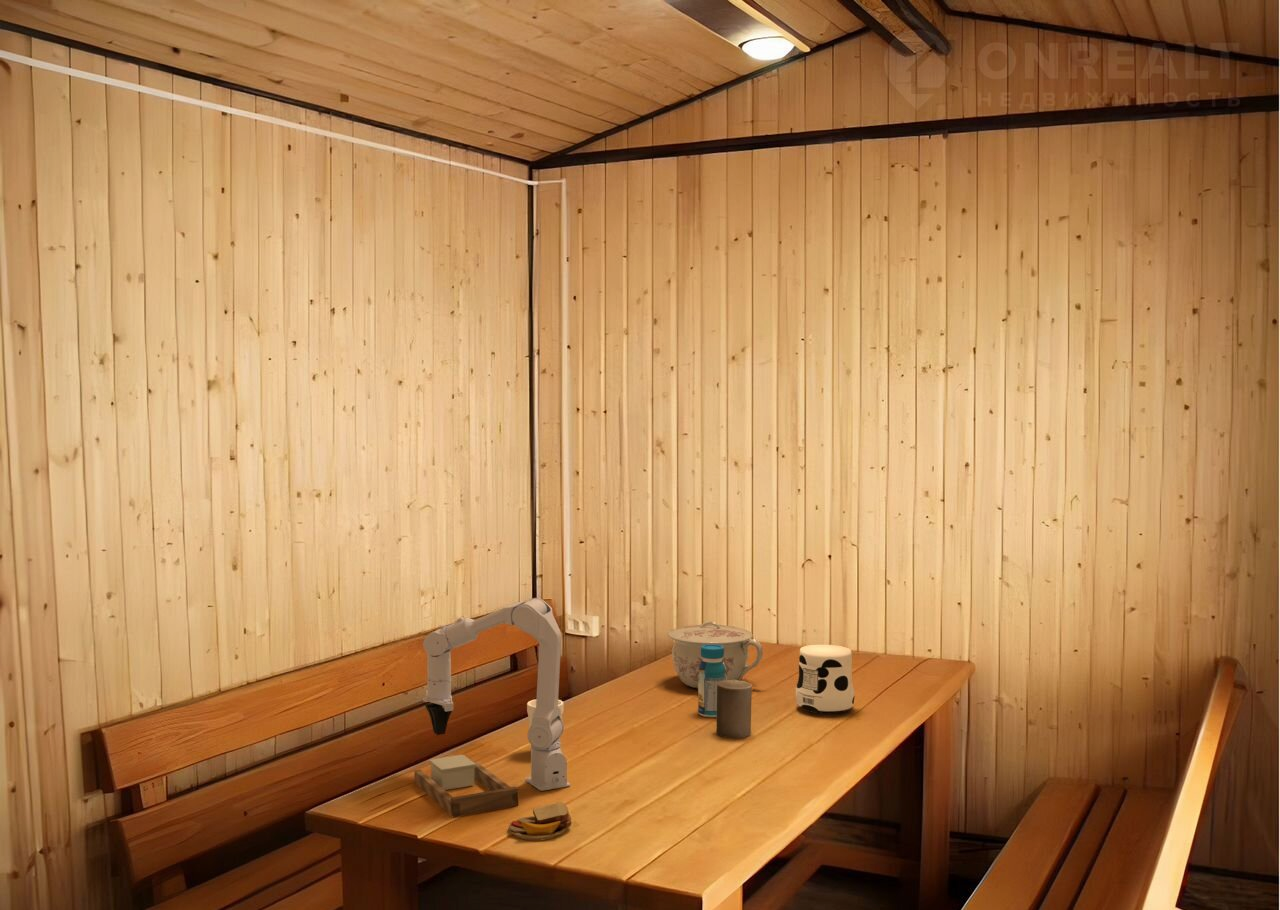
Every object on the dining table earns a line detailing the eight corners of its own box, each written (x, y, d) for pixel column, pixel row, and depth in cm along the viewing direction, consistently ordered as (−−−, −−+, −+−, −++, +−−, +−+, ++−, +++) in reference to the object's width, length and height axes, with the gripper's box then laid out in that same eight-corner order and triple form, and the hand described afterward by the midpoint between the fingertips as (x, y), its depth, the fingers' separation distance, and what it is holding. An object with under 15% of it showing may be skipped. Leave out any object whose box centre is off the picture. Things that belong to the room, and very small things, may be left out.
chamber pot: (652, 680, 387) (653, 617, 386) (726, 671, 399) (726, 610, 398) (692, 700, 362) (692, 633, 361) (769, 691, 374) (770, 625, 372)
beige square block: (476, 785, 283) (475, 764, 282) (441, 791, 278) (441, 769, 278) (463, 775, 290) (462, 754, 290) (429, 780, 286) (429, 759, 286)
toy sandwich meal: (507, 822, 260) (507, 801, 259) (569, 819, 261) (569, 798, 261) (509, 844, 247) (509, 821, 247) (573, 841, 249) (573, 818, 249)
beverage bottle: (716, 719, 340) (716, 650, 339) (691, 714, 346) (692, 646, 345) (732, 713, 347) (732, 645, 346) (708, 708, 352) (708, 642, 351)
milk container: (852, 703, 359) (852, 644, 358) (856, 718, 342) (857, 657, 341) (794, 701, 361) (795, 643, 360) (796, 717, 344) (796, 655, 343)
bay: (518, 805, 269) (518, 788, 269) (453, 817, 262) (453, 799, 262) (475, 772, 292) (475, 756, 292) (414, 782, 285) (414, 766, 285)
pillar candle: (710, 734, 325) (711, 681, 324) (724, 725, 334) (725, 673, 333) (743, 740, 321) (744, 685, 320) (756, 731, 330) (757, 677, 329)
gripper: (413, 674, 295) (414, 728, 296) (433, 687, 283) (433, 743, 283) (440, 671, 299) (441, 724, 299) (461, 683, 286) (461, 739, 287)
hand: (439, 733), depth 292 cm, fingers closed
